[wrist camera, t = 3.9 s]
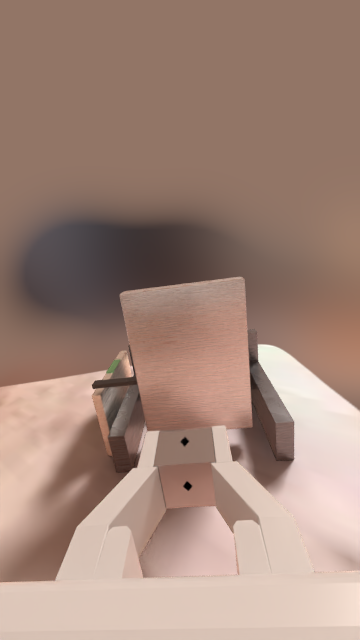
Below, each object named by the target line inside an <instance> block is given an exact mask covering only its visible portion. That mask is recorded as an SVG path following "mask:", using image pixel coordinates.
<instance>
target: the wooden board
mask: <svg viewBox="0 0 360 640" xmlns="http://www.w3.org/2000/svg"><path fill="white" fill-rule="evenodd" d="M120 300H121V304H122V309H123V314H124V319H125V324H126V329H127V334H128V339H129V343H130V348H131V353H132V358H133V363H134V368H135V373H136V377H127V378H117V379H107V380H97V381H95V382H94V383H93V384H92V387H93V389H98V388H108V387H118V386H128V385H138V387H139V392H140V397H141V402H142V407H143V412H144V417H145V421H146V426H147V431H160V430H176V429H192V428H203V427H211V428H212V426H221V425H225V426H226V429H238V428H250V427H253V424H252V406H251V388H250V370H249V352H248V334H247V316H246V298H245V280H244V279H243V278H242V277H235V278H227V279H219V280H211V281H204V282H195V283H188V284H180V285H171V286H163V287H156V288H148V289H140V290H132V291H125V292H123V293H121V294H120Z"/></svg>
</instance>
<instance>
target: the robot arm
mask: <svg viewBox="0 0 360 640" xmlns="http://www.w3.org/2000/svg"><path fill="white" fill-rule="evenodd" d="M203 506H216V508H217V509H218V511H219V512H220V514H221V515H222V517H223V519H224V520H225V522H226V523H227V525H228V526H229V528H230V529H231V531H232V532H233V534H234V540H235V551H236V562H237V572H238V575H215V576H184V577H153V578H143V574H142V570H141V567H140V563H139V557H140V555H141V554H142V552H143V550H144V548H145V547H146V545H147V543H148V541H149V540H150V538H151V536H152V534H153V533H154V531H155V529H156V528H157V526H158V524H159V522H160V521H161V519H162V517H163V515H164V514H165V512H166V509H171V508H182V507H203ZM0 640H360V571H334V572H315V571H314V568H313V565H312V563H311V560H310V557H309V555H308V552H307V550H306V547H305V544H304V542H303V539H302V537H301V534H300V531H299V529H298V526H297V523H296V521H295V518H294V516H293V515H292V514H291V513H290V512H289V511H288V510H287V509H285V508H284V507H283V506H282V505H281V504H280V503H279V502H278V501H277V500H276V499H275V498H274V497H273V496H272V495H271V494H270V493H269V492H268V491H267V490H266V489H265V488H264V487H263V486H262V485H261V484H260V483H259V482H258V481H257V480H256V479H255V478H254V477H253V476H252V475H251V474H250V473H249V472H248V471H247V470H246V469H245V468H243V467H242V466H241V465H240V464H239V463H238V462H237V461H233V460H232V455H231V450H230V445H229V440H228V435H227V430H226V426H225V425H221V426H212V428H211V427H203V428H192V429H176V430H160V431H147V432H146V434H145V437H144V441H143V445H142V449H141V454H140V458H139V462H138V466H137V468H133V469H132V470H131V471H130V472H129V473H128V474H127V475H126V476H125V477H124V478H123V479H122V480H121V481H120V482H119V483H118V484H117V485H116V487H115V488H114V489H113V490H112V491H111V492H110V493H109V494H108V495H107V496H106V497H105V498H104V499H103V500H102V501H101V502H100V503H99V504H98V505H97V506H96V507H95V508H94V509H93V511H92V512H91V513H90V514H89V515H88V516H87V517H86V518H85V519H84V520H83V521H82V522H81V523H80V524H79V525H78V526H77V528H76V530H75V533H74V535H73V538H72V540H71V542H70V545H69V547H68V550H67V552H66V555H65V557H64V560H63V562H62V564H61V567H60V569H59V572H58V574H57V577H56V579H55V581H28V582H0Z"/></svg>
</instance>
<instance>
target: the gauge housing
mask: <svg viewBox="0 0 360 640" xmlns="http://www.w3.org/2000/svg"><path fill="white" fill-rule="evenodd" d="M247 334H248V352H249V370H250V388H251V399H252V402H253V404H254V407H255V409H256V411H257V414H258V416H259V419H260V421H261V424H262V426H263V429H264V431H265V434H266V436H267V438H268V441H269V443H270V446H271V448H272V451H273V453H274V456H275V458H276V461H279V460H293V459H294V421H293V419H292V417H291V416H290V414H289V412H288V411H287V409H286V407H285V406H284V404H283V402H282V401H281V399H280V397H279V396H278V394H277V392H276V390H275V389H274V387H273V385H272V384H271V382H270V380H269V379H268V377H267V375H266V374H265V372H264V370H263V369H262V367H261V365H260V364H259V362H258V346H257V331H256V330H255V329H252V330H247ZM129 351H130V356H131V360H132V365H133V370H134V376H133V377H136V373H135V368H134V363H133V358H132V353H131V348H130V344H129ZM127 377H132V374H131V369H130V365H129V360H128V355H127V351H120V353H119V355H118V356H117V358H116V359H115V360H114V361H113V363H112V364H111V366H110V367H109V369H108V370H107V372H106V375H105V376H104V378H103V379H102V380H107V379H117V378H127ZM92 399H93V402H94V406H95V410H96V413H97V417H98V421H99V424H100V428H101V432H102V436H103V439H104V443H105V447H106V450H107V454H108V456H110V455H112V456H113V460H114V463H115V467H116V471H117V472H127V471H131V470H132V469H133V468H134V464H135V460H136V456H137V452H138V448H139V444H140V440H141V436H142V432H143V428H144V424H145V417H144V412H143V407H142V402H141V397H140V392H139V387H138V385H128V386H118V387H108V388H98V389H96V390H95V392H94V393H93V395H92Z"/></svg>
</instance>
